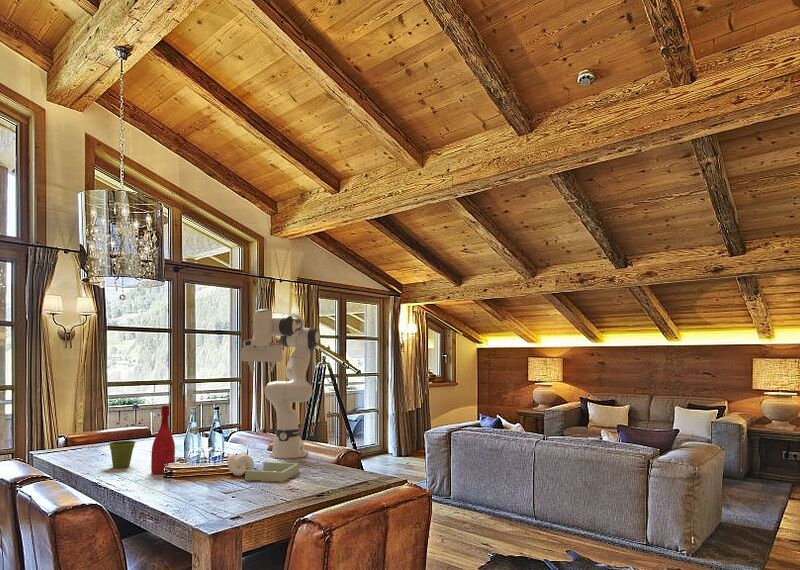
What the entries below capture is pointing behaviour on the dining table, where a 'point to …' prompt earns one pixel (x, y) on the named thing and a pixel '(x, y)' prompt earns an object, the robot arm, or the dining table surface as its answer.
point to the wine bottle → (162, 445)
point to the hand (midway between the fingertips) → (261, 371)
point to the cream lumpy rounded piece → (240, 463)
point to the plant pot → (121, 453)
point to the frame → (268, 475)
